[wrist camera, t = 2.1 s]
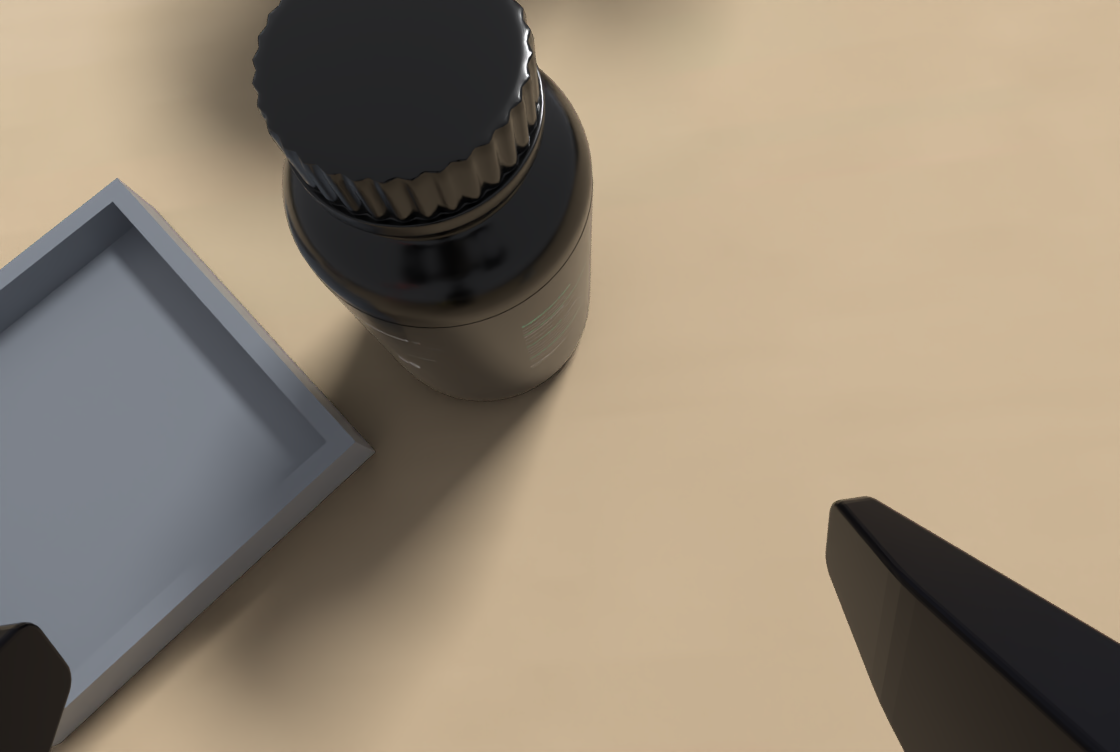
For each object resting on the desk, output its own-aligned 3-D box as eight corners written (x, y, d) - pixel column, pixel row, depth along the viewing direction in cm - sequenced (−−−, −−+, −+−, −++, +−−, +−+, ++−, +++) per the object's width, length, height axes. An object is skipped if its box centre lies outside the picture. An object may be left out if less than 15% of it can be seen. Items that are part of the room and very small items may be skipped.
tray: (59, 743, 20) (3, 764, 18) (-146, 447, 22) (-215, 437, 21) (375, 451, 22) (355, 442, 20) (153, 207, 24) (117, 177, 22)
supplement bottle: (345, 320, 23) (104, 85, 11) (477, 177, 24) (382, -168, 13) (498, 448, 22) (402, 328, 10) (630, 291, 23) (680, 23, 11)
